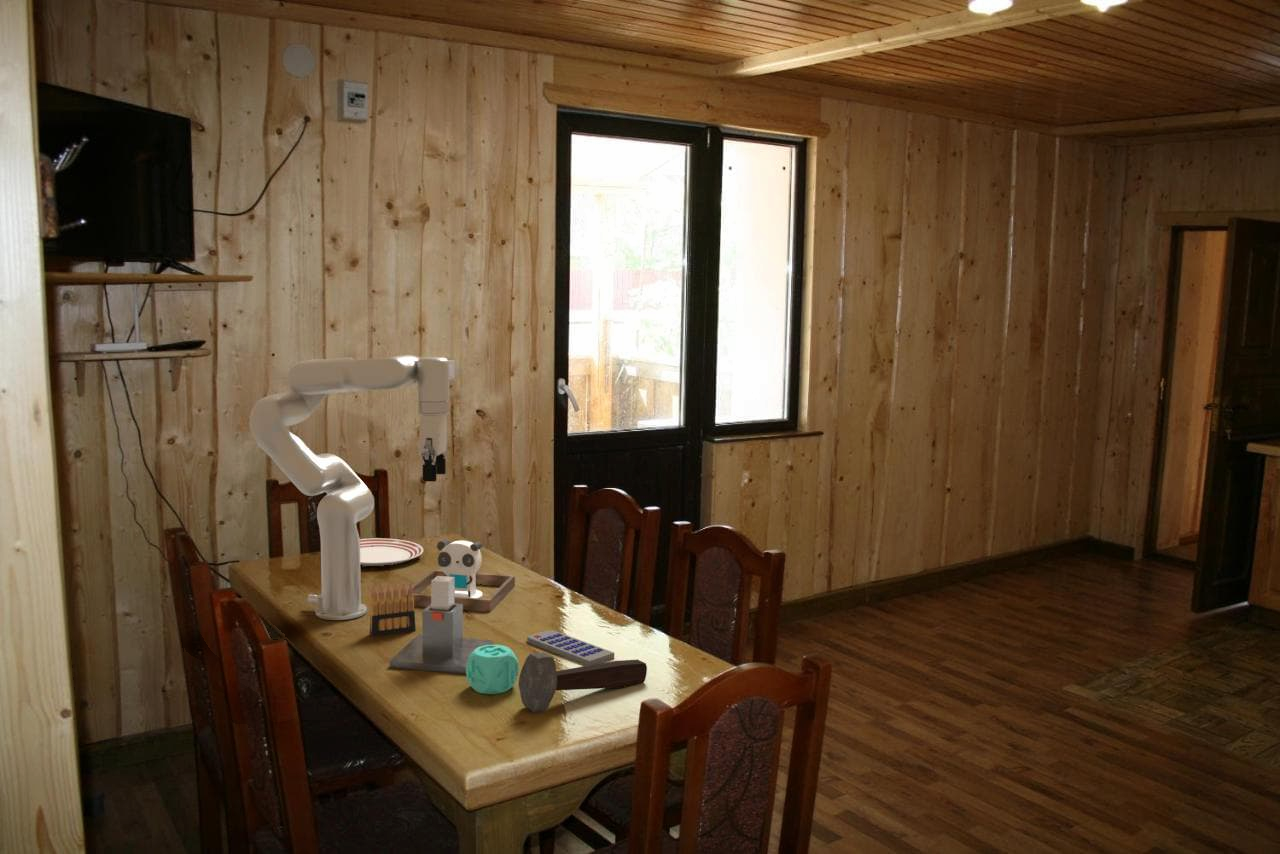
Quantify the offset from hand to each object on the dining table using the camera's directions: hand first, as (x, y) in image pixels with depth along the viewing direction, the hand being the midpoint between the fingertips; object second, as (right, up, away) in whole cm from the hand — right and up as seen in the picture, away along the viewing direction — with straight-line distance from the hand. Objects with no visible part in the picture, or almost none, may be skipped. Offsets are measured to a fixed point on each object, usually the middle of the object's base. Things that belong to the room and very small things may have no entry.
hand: (434, 477), depth 257 cm
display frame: (+2, -33, +27) cm, 43 cm away
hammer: (+39, -44, -39) cm, 71 cm away
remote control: (+34, -40, -12) cm, 54 cm away
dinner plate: (-29, -28, +62) cm, 74 cm away
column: (+6, -38, -20) cm, 43 cm away
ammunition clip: (-9, -37, -4) cm, 39 cm away
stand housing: (+6, -40, -19) cm, 44 cm away
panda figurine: (+2, -33, +27) cm, 43 cm away
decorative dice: (+19, -43, -36) cm, 59 cm away
